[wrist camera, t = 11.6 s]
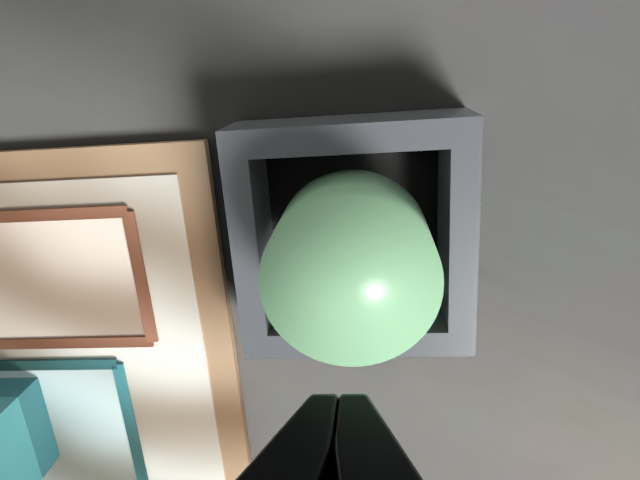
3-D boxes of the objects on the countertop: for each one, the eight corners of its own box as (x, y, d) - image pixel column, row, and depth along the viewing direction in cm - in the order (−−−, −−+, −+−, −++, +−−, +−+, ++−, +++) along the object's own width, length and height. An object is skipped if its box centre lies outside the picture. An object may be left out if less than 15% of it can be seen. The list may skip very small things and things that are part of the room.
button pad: (460, 317, 18) (475, 356, 15) (259, 321, 19) (244, 359, 16) (465, 107, 16) (483, 115, 13) (236, 121, 16) (215, 131, 14)
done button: (428, 310, 16) (443, 365, 13) (284, 313, 16) (267, 367, 13) (429, 165, 14) (445, 192, 11) (270, 173, 15) (248, 200, 12)
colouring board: (264, 560, 22) (261, 574, 22) (-59, 553, 24) (-69, 565, 23) (207, 138, 17) (201, 141, 16) (-216, 162, 18) (-236, 166, 17)
